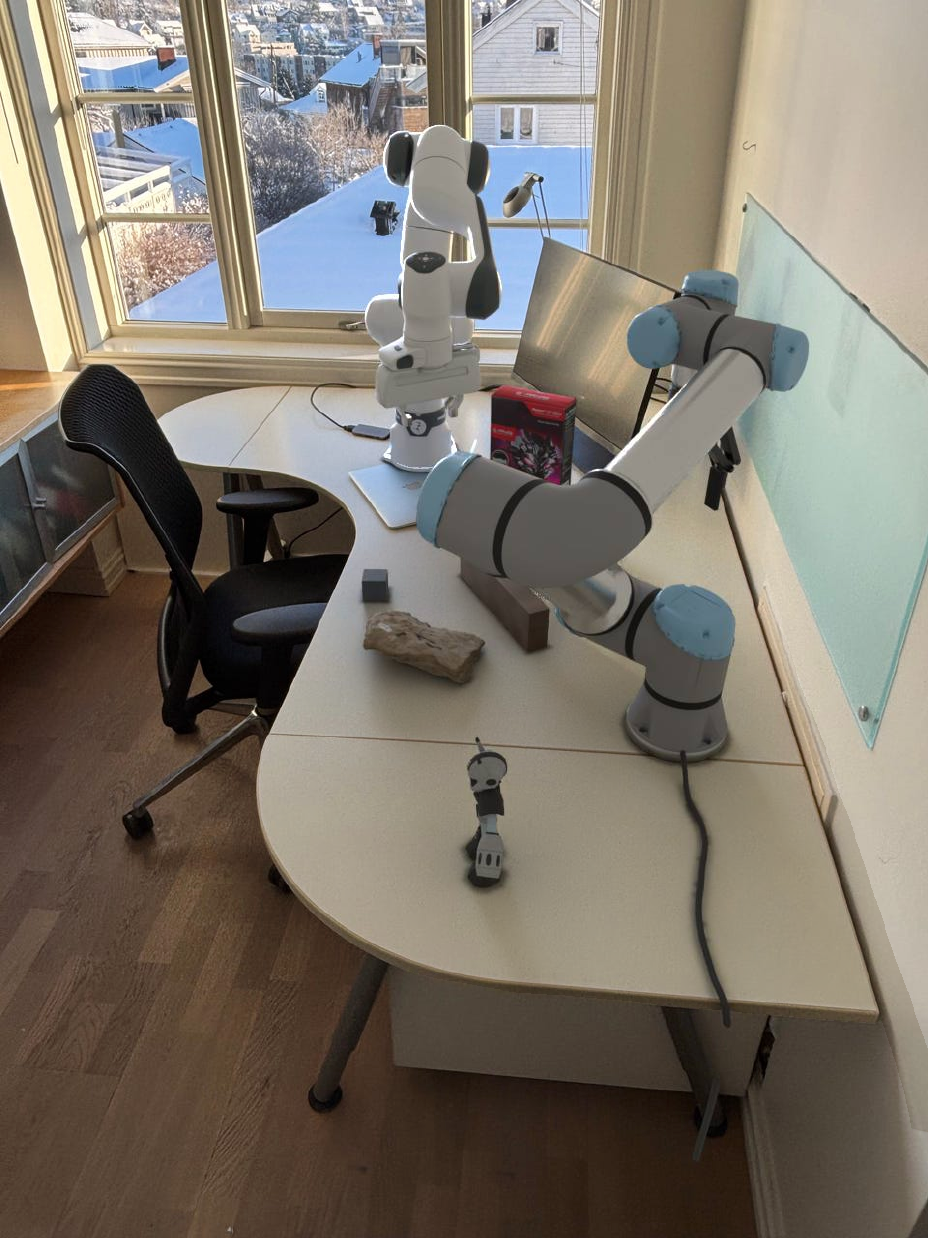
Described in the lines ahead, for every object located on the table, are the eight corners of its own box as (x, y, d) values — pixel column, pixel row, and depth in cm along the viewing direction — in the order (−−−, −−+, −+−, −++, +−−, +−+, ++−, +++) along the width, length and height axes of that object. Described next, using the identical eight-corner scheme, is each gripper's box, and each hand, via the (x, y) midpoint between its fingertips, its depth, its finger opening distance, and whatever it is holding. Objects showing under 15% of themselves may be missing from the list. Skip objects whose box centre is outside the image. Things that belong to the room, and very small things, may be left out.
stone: (339, 657, 153) (345, 625, 150) (371, 626, 166) (378, 596, 164) (457, 699, 149) (466, 667, 147) (481, 664, 163) (489, 634, 160)
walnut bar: (547, 646, 161) (550, 608, 157) (527, 652, 160) (529, 614, 156) (478, 571, 182) (479, 536, 178) (460, 576, 181) (460, 540, 177)
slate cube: (386, 601, 173) (385, 581, 171) (362, 601, 173) (361, 581, 171) (388, 589, 177) (387, 568, 174) (365, 588, 177) (363, 568, 174)
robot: (509, 924, 113) (515, 806, 101) (469, 925, 112) (471, 808, 101) (496, 807, 129) (501, 695, 118) (462, 808, 129) (463, 696, 118)
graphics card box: (486, 512, 203) (488, 393, 188) (499, 500, 208) (503, 382, 193) (557, 530, 197) (566, 407, 181) (570, 517, 202) (579, 396, 187)
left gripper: (472, 335, 173) (472, 405, 181) (369, 352, 166) (374, 423, 174) (487, 345, 168) (486, 417, 176) (382, 363, 161) (386, 436, 169)
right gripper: (747, 365, 141) (724, 491, 153) (608, 387, 132) (595, 519, 144) (781, 380, 135) (754, 510, 147) (638, 405, 126) (622, 540, 138)
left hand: (430, 420), depth 175 cm, fingers open, 8 cm apart
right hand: (676, 515), depth 146 cm, fingers open, 13 cm apart
